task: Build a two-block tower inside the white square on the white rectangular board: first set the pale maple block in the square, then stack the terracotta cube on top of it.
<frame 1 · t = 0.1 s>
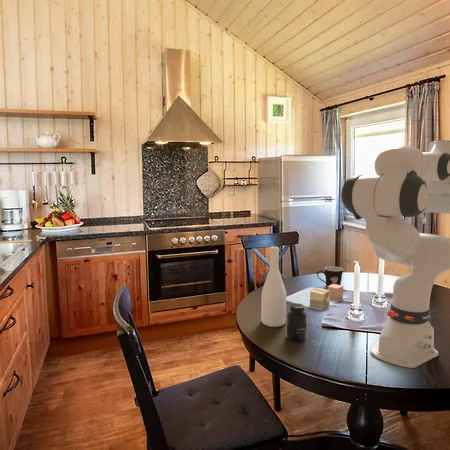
hand: (438, 224, 145), 39 cm above the table, tool pointing down, fingers open, 8 cm apart
supplement bottle: (296, 338, 142), on the table
coffee mug: (330, 288, 197), on the table
terracotta cube: (335, 296, 180), point 1 cm above the table, touching white rectangular board
white rectangular board: (315, 300, 180), on the table
maple block: (319, 304, 171), point 1 cm above the table, touching white rectangular board
wine bottle: (273, 323, 155), on the table
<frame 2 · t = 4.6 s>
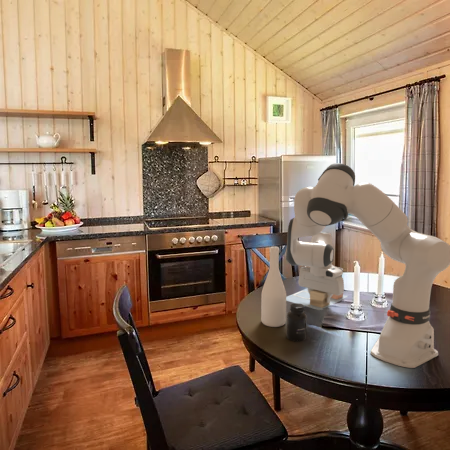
hand: (319, 300, 171), 3 cm above the table, tool pointing down, fingers closed on maple block, 6 cm apart
maple block: (319, 304, 171), point 1 cm above the table, touching white rectangular board, gripper
everything else where it was.
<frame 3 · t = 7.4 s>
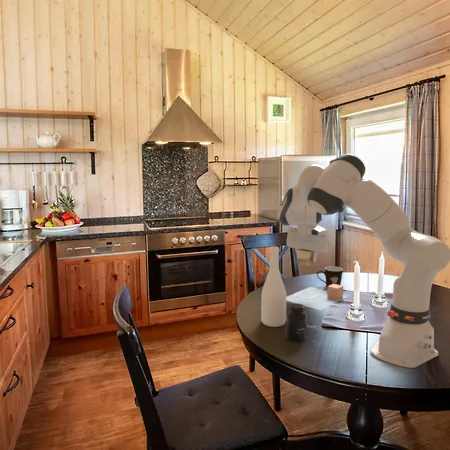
hand: (306, 259, 180), 18 cm above the table, tool pointing down, fingers closed on maple block, 6 cm apart
maple block: (306, 263, 180), point 16 cm above the table, touching gripper
everything else where it was.
when the fingers open (4 cm above the table, at t = 10.3 s): maple block drops 1 cm, resting on white rectangular board.
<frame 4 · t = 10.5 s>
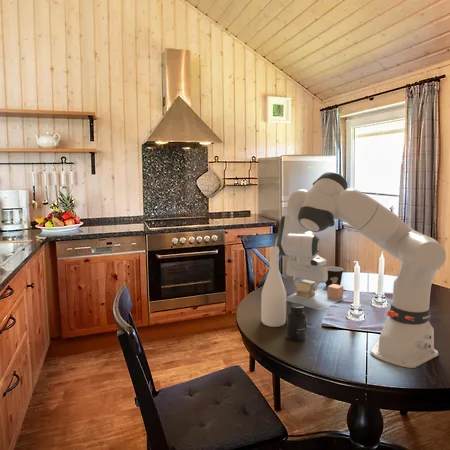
hand: (305, 288, 182), 4 cm above the table, tool pointing down, fingers open, 8 cm apart
maple block: (305, 295, 183), point 1 cm above the table, touching white rectangular board
everything else where it was.
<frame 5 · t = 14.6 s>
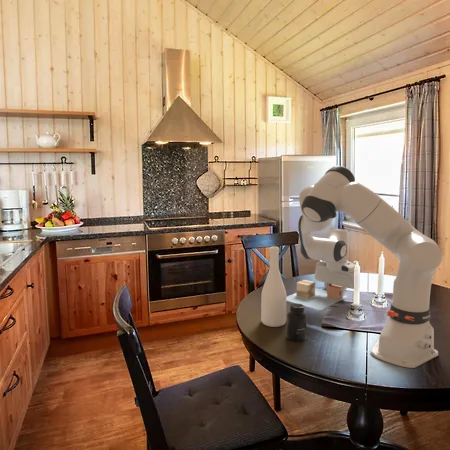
hand: (335, 293, 180), 3 cm above the table, tool pointing down, fingers closed on terracotta cube, 5 cm apart
terracotta cube: (335, 296, 180), point 1 cm above the table, touching white rectangular board, gripper
everything else where it was.
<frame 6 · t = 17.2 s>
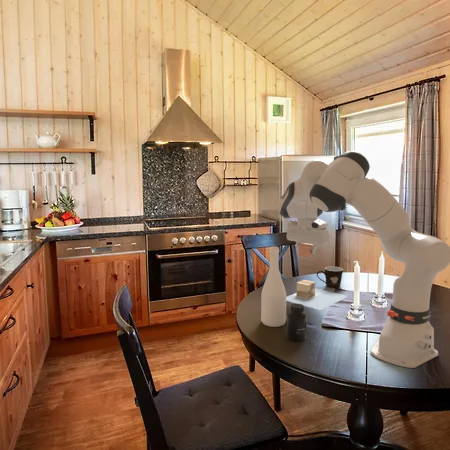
hand: (306, 252, 180), 21 cm above the table, tool pointing down, fingers closed on terracotta cube, 5 cm apart
terracotta cube: (306, 255, 180), point 20 cm above the table, touching gripper
everything else where it was.
when the fingers open (10 cm above the table, at t = 19.8 s): terracotta cube drops 1 cm, resting on maple block.
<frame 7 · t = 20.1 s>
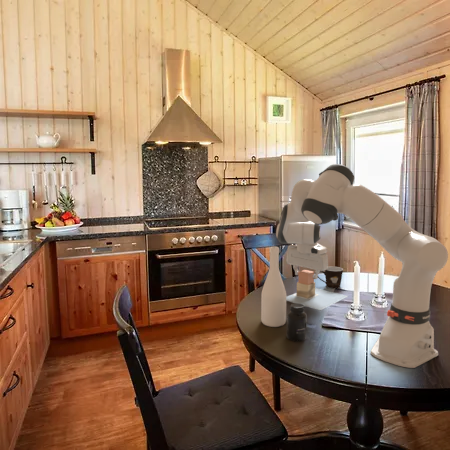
hand: (306, 276, 181), 10 cm above the table, tool pointing down, fingers open, 8 cm apart
terracotta cube: (306, 282, 182), point 7 cm above the table, touching maple block
maple block: (305, 295, 183), point 1 cm above the table, touching white rectangular board, terracotta cube
everything else where it was.
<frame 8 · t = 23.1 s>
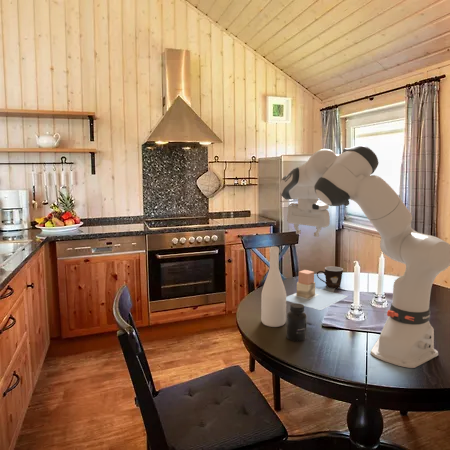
hand: (307, 235, 179), 29 cm above the table, tool pointing down, fingers open, 8 cm apart
nothing on the table moved.
at the end: maple block 0.0 cm from the target spot, point 1.2 cm above the table; terracotta cube 0.0 cm off-centre on the maple block, point 6.0 cm above the maple block's base; terracotta cube tilted 0° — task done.
